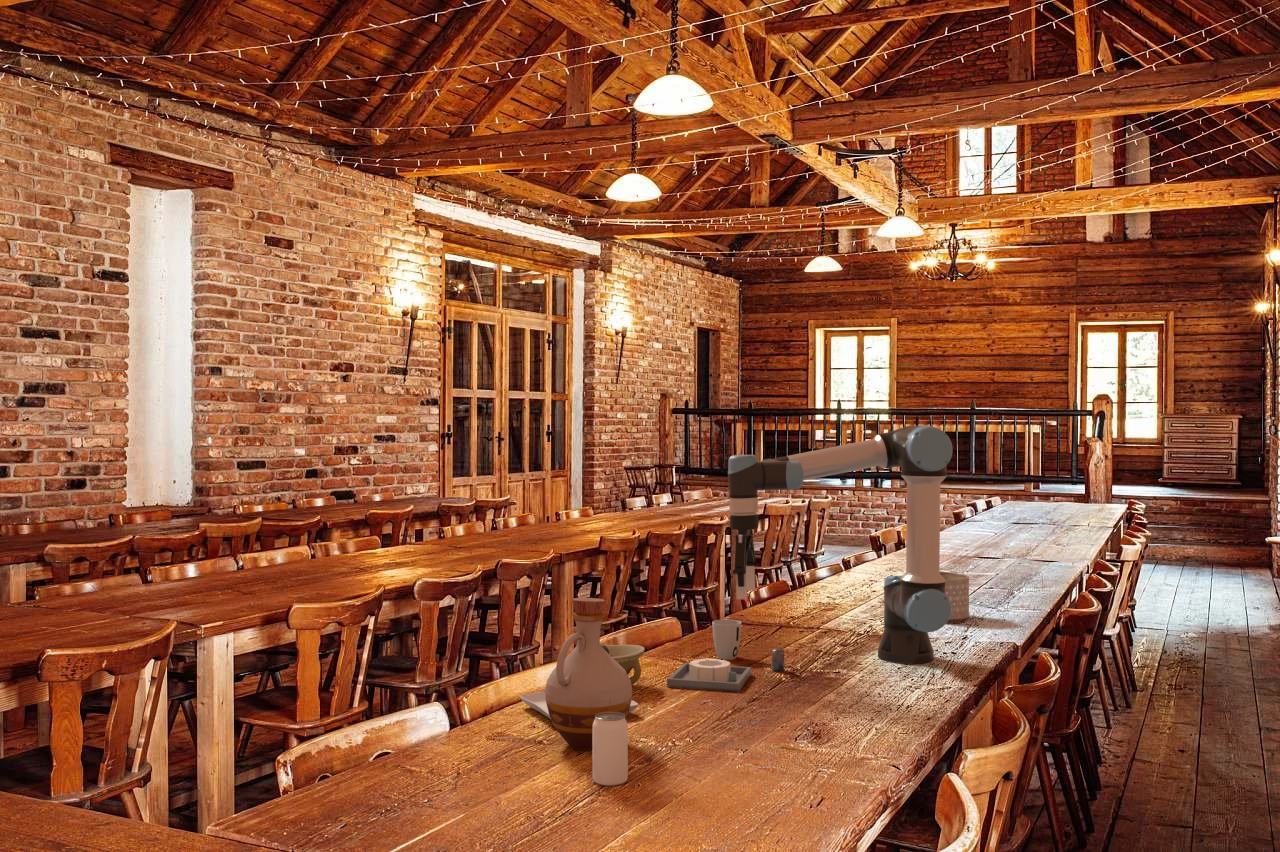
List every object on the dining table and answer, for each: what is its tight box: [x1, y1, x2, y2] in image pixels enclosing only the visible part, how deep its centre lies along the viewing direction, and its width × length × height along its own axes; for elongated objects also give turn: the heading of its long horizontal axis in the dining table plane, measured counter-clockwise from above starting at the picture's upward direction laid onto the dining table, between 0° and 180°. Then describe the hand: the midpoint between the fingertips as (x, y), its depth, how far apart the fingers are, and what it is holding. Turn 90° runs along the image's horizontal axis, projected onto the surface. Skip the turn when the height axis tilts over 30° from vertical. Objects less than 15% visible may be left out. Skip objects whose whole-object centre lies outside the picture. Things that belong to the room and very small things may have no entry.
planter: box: [939, 571, 970, 624], centre depth 359 cm, size 19×19×14 cm
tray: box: [666, 662, 752, 693], centre depth 274 cm, size 18×18×2 cm
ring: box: [689, 658, 736, 682], centre depth 274 cm, size 10×12×4 cm
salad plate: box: [519, 690, 639, 720], centre depth 245 cm, size 21×21×3 cm
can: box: [591, 712, 629, 787], centre depth 198 cm, size 6×6×12 cm
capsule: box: [771, 648, 785, 673], centre depth 285 cm, size 3×3×6 cm
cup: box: [711, 619, 742, 661], centre depth 300 cm, size 8×8×10 cm
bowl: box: [601, 644, 646, 686], centre depth 268 cm, size 18×18×10 cm
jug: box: [544, 597, 633, 751], centre depth 219 cm, size 20×18×30 cm
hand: (746, 594), depth 282 cm, fingers open, 13 cm apart
